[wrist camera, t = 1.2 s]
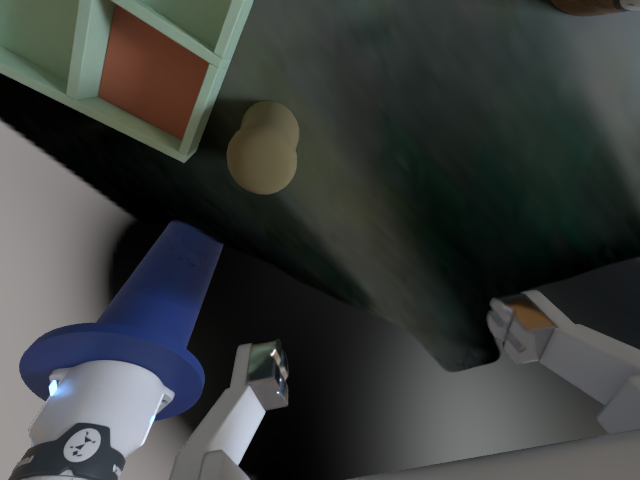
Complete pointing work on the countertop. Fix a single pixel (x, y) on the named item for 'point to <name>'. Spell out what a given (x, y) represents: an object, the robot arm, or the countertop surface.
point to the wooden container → (596, 6)
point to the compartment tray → (127, 61)
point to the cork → (264, 148)
